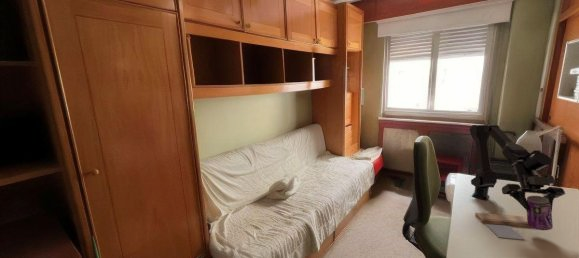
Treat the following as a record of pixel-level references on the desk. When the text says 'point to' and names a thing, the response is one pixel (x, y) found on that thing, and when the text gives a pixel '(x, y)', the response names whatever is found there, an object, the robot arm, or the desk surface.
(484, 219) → the tan flat block
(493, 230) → the slate mat
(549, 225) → the beverage can
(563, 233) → the desk surface
